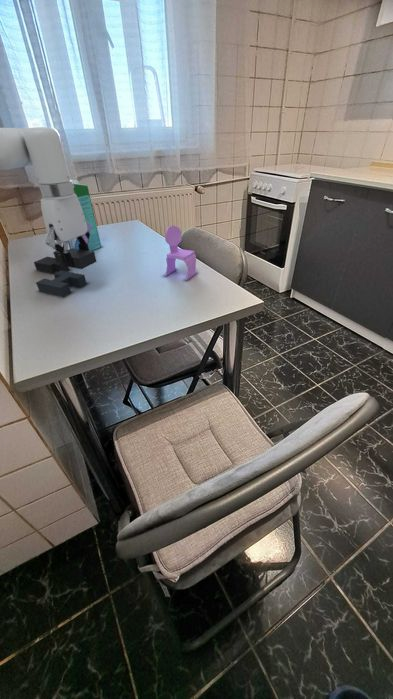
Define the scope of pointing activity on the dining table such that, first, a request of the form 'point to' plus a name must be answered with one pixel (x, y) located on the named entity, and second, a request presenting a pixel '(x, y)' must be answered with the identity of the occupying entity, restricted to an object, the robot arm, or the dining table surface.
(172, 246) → the toy chair
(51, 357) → the dining table surface
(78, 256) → the pad
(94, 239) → the milk carton
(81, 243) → the robot arm
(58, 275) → the pad
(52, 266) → the pad
